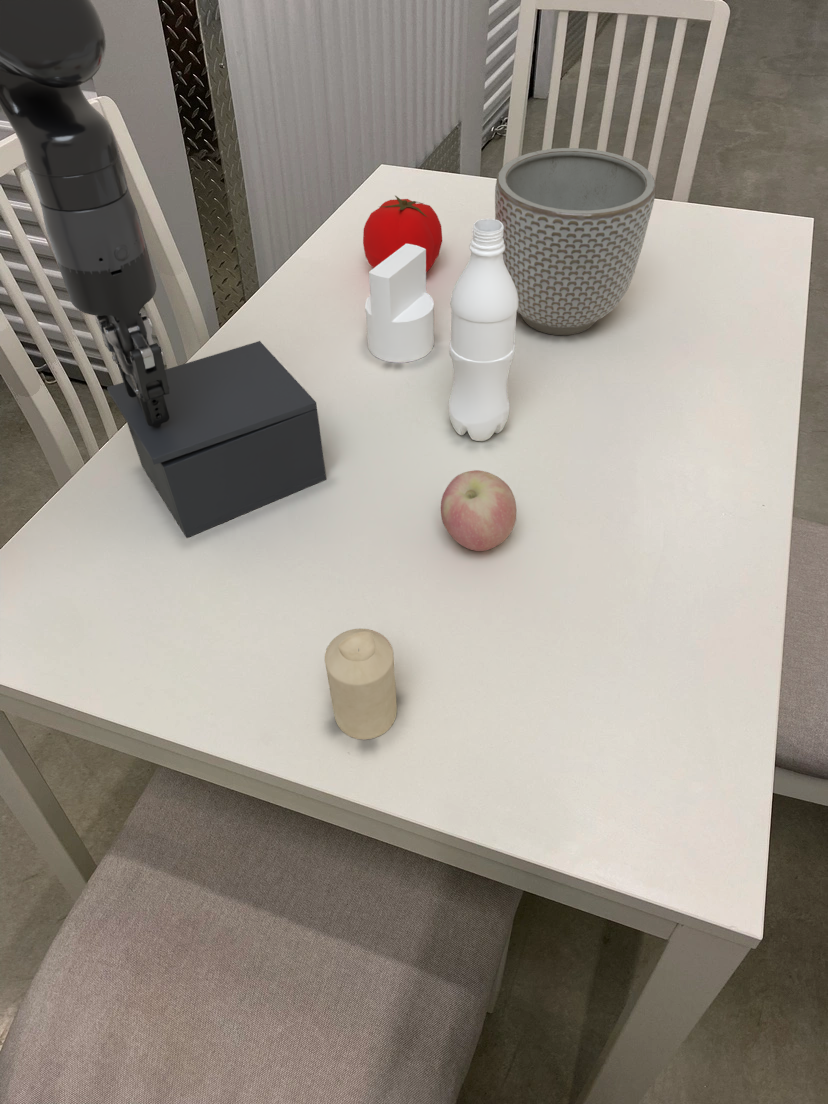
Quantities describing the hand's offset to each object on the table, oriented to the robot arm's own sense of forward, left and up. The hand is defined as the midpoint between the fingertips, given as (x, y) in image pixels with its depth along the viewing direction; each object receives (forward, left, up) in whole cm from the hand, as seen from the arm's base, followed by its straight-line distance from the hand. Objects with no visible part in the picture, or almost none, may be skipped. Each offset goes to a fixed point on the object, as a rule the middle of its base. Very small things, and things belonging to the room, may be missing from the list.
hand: (148, 407), depth 82 cm
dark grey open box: (+7, -2, -12) cm, 14 cm away
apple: (+16, -30, -12) cm, 36 cm away
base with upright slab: (+39, 0, -12) cm, 40 cm away
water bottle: (+31, -19, -12) cm, 38 cm away
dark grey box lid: (+6, -2, -2) cm, 7 cm away
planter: (+58, -13, -12) cm, 60 cm away
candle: (-7, -35, -12) cm, 38 cm away
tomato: (+54, +12, -12) cm, 56 cm away
